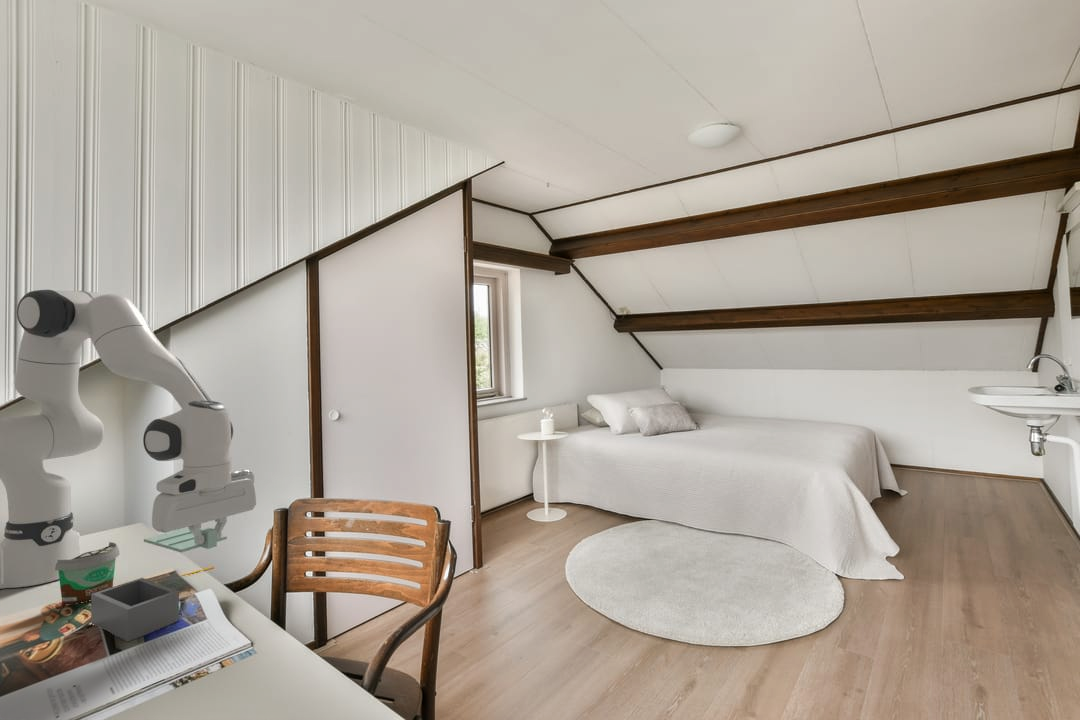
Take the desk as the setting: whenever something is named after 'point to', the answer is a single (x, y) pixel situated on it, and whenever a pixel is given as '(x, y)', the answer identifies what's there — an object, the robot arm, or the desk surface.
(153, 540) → the lid
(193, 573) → the pencil
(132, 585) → the tub
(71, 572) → the food container
